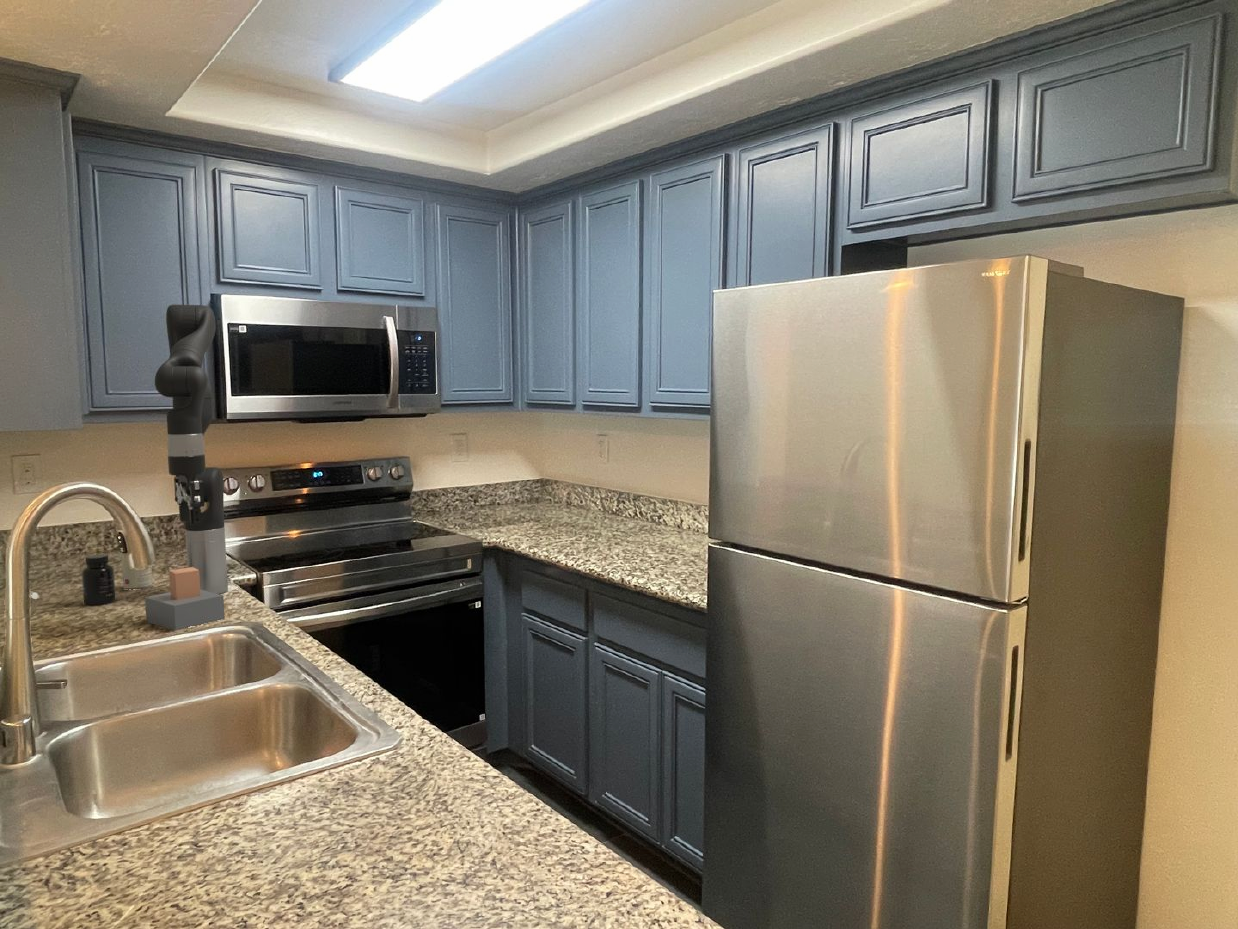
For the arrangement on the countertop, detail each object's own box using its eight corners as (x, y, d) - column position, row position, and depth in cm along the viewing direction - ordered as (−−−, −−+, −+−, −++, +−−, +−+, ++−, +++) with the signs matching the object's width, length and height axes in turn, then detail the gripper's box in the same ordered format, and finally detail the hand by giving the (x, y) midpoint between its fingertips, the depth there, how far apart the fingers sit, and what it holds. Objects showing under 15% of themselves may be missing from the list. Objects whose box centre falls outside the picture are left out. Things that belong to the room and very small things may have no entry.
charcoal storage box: (146, 622, 185) (144, 597, 184) (194, 612, 194) (193, 587, 193) (175, 632, 177) (174, 605, 176) (224, 620, 186) (223, 595, 185)
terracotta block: (170, 596, 185) (169, 570, 185) (194, 592, 189) (192, 567, 188) (176, 599, 182) (175, 573, 181) (200, 595, 185) (199, 570, 184)
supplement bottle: (77, 605, 200) (73, 558, 199) (101, 598, 207) (98, 553, 206) (97, 607, 198) (94, 559, 197) (122, 600, 205) (119, 554, 204)
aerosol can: (139, 584, 222) (134, 513, 221) (158, 585, 220) (154, 514, 219) (117, 590, 216) (112, 517, 214) (137, 591, 214) (132, 517, 212)
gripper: (159, 453, 186) (164, 521, 188) (176, 456, 176) (181, 529, 177) (195, 451, 191) (199, 518, 193) (213, 454, 181) (217, 524, 183)
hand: (190, 523), depth 185 cm, fingers open, 8 cm apart
